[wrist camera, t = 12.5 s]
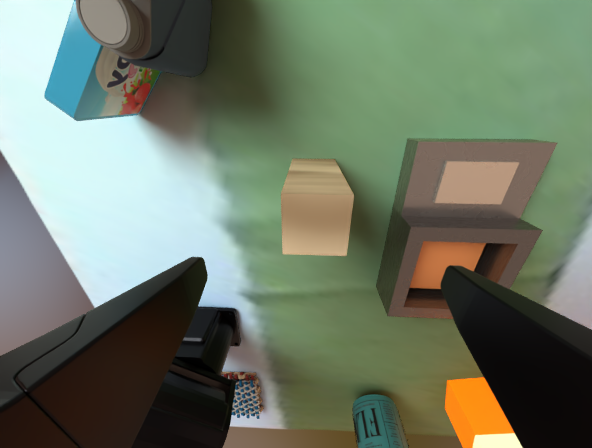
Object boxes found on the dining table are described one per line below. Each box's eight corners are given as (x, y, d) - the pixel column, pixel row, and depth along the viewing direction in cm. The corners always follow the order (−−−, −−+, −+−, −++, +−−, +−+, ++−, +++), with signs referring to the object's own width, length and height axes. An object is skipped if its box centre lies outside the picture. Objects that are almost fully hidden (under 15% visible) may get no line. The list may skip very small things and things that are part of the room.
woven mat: (259, 367, 33) (256, 382, 31) (265, 405, 38) (262, 420, 36) (190, 364, 34) (184, 379, 32) (205, 402, 39) (200, 417, 37)
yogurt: (139, 115, 18) (71, 121, 13) (121, 100, 17) (41, 101, 12) (222, -47, 14) (173, -143, 8) (201, -72, 13) (133, -191, 8)
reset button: (455, 279, 23) (465, 289, 21) (400, 277, 23) (406, 287, 22) (475, 231, 20) (487, 240, 19) (413, 230, 20) (420, 238, 19)
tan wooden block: (331, 198, 20) (346, 255, 12) (292, 197, 20) (282, 254, 12) (334, 159, 19) (354, 195, 11) (292, 158, 19) (280, 193, 11)
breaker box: (464, 289, 24) (491, 320, 21) (376, 286, 25) (387, 316, 21) (531, 139, 17) (589, 146, 14) (407, 138, 18) (432, 145, 14)
